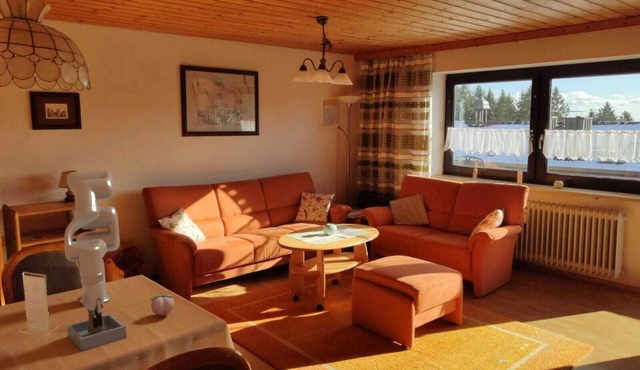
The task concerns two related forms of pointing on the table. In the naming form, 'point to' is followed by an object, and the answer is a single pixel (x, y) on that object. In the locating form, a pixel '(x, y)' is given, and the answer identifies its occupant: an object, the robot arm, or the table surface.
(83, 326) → the box
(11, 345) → the table surface
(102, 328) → the cork
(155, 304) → the decorative fruit
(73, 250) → the robot arm
